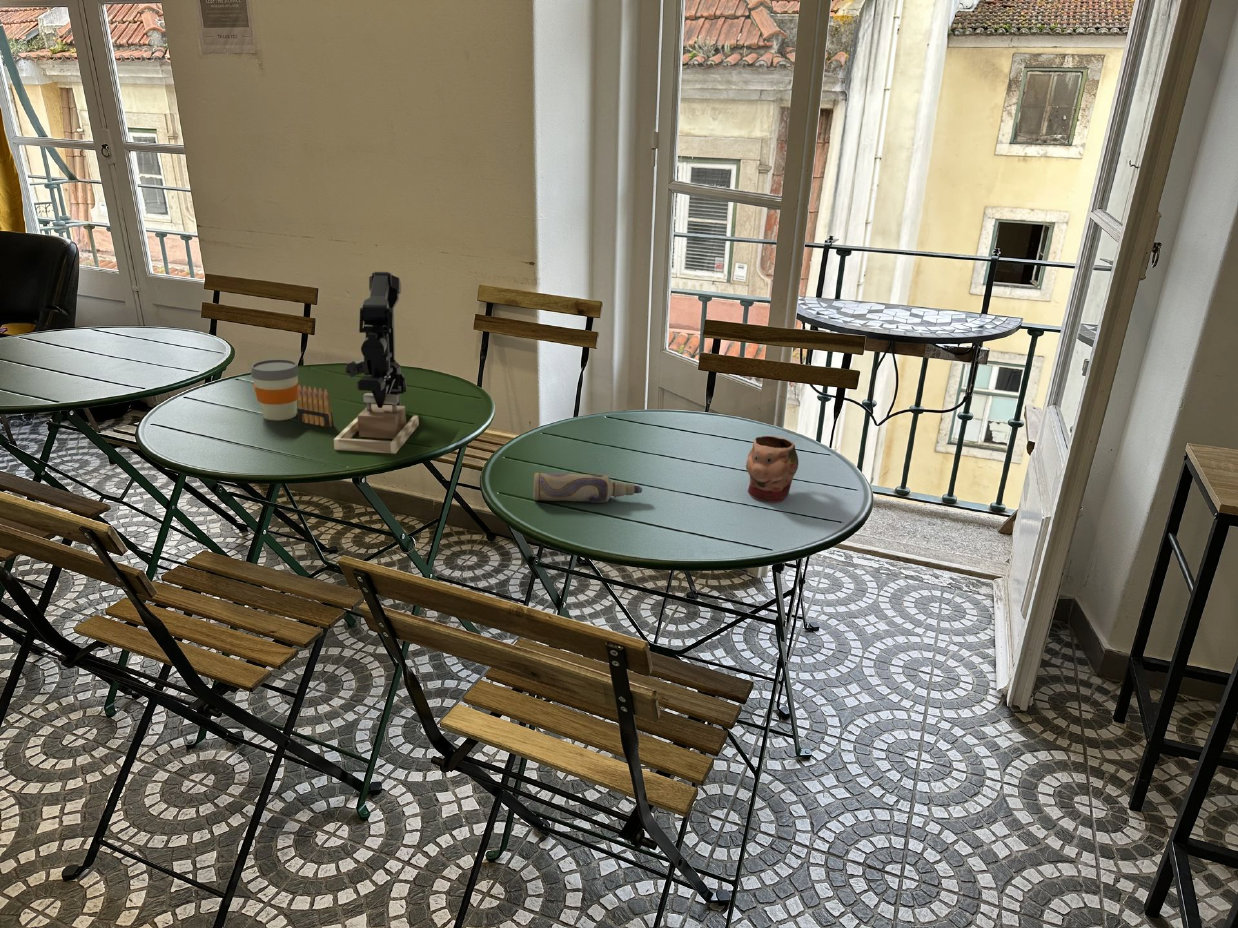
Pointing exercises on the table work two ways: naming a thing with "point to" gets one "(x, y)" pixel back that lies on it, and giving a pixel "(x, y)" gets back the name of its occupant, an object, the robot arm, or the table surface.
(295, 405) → the reusable coffee cup
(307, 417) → the ammunition clip
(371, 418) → the panel with bar handle
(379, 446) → the bay
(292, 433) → the table surface
